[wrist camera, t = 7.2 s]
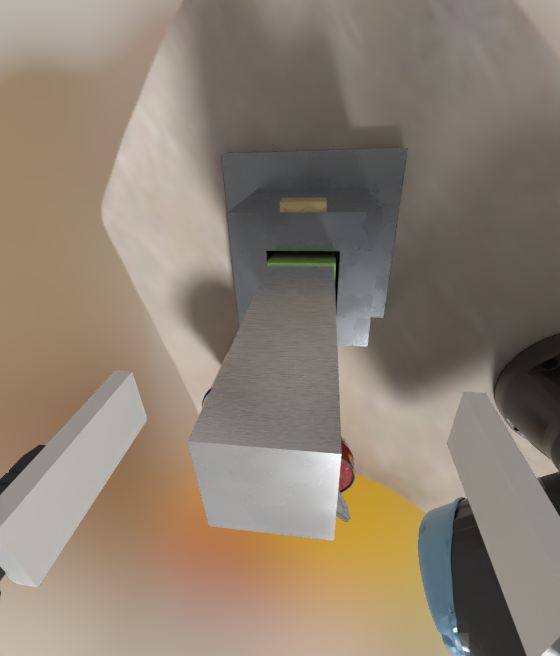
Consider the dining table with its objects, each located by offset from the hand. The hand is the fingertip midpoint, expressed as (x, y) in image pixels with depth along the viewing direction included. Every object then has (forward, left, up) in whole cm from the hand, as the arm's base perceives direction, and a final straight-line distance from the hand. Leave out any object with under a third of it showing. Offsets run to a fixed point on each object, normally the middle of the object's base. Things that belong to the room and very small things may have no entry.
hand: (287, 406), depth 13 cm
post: (0, 0, -16) cm, 16 cm away
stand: (0, 0, -24) cm, 24 cm away
